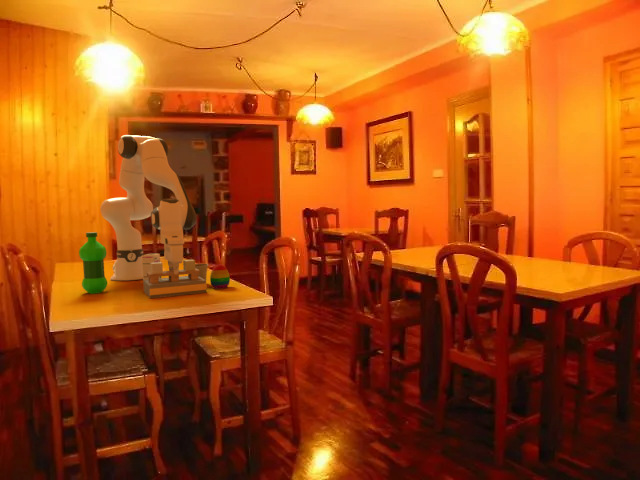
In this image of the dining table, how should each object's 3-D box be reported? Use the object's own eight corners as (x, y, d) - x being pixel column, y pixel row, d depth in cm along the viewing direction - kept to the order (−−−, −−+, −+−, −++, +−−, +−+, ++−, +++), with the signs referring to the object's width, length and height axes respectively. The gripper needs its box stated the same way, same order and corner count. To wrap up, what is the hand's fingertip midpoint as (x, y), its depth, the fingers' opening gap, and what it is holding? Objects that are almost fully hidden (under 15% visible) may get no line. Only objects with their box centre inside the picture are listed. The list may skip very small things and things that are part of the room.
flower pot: (183, 285, 236) (182, 266, 235) (195, 282, 244) (194, 263, 244) (201, 286, 232) (201, 266, 232) (213, 283, 241) (212, 263, 240)
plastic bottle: (93, 289, 231) (90, 231, 229) (113, 290, 228) (110, 231, 225) (76, 294, 222) (72, 233, 220) (96, 295, 218) (92, 233, 216)
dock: (144, 292, 223) (143, 280, 222) (197, 286, 232) (196, 275, 232) (150, 298, 208) (149, 285, 207) (206, 292, 217) (206, 280, 217)
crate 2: (183, 269, 223) (183, 260, 223) (193, 269, 225) (192, 259, 225) (185, 271, 220) (185, 261, 219) (195, 270, 221) (195, 260, 221)
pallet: (147, 281, 218) (146, 272, 218) (196, 276, 227) (196, 268, 227) (149, 283, 213) (149, 274, 212) (200, 278, 221) (199, 270, 221)
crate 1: (150, 272, 218) (150, 262, 217) (161, 271, 219) (160, 261, 219) (152, 273, 214) (152, 263, 214) (162, 272, 216) (162, 263, 215)
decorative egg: (227, 289, 224) (226, 265, 223) (208, 289, 225) (207, 265, 224) (232, 285, 232) (231, 262, 231) (213, 286, 233) (212, 263, 232)
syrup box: (155, 288, 230) (153, 254, 229) (143, 288, 232) (141, 254, 230) (162, 286, 236) (160, 253, 235) (149, 286, 237) (148, 253, 236)
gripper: (159, 237, 226) (161, 270, 228) (168, 240, 208) (170, 276, 209) (175, 236, 229) (176, 268, 230) (185, 239, 211) (186, 274, 212)
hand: (173, 272), depth 220 cm, fingers open, 8 cm apart
